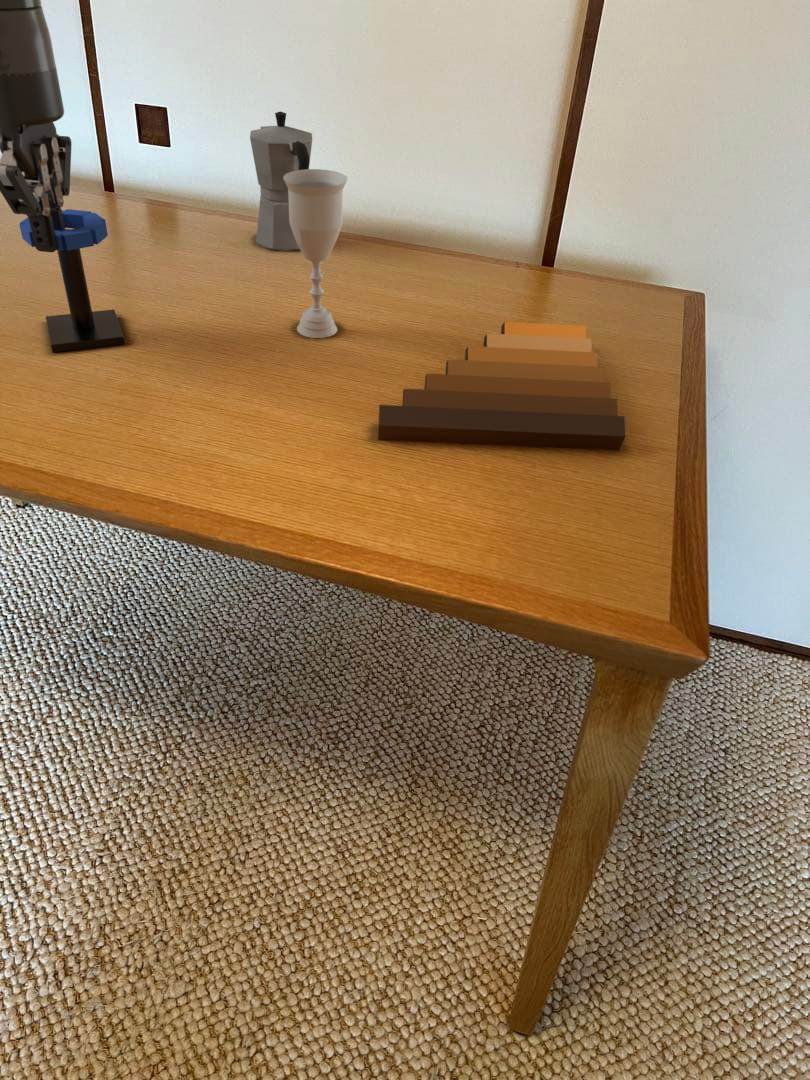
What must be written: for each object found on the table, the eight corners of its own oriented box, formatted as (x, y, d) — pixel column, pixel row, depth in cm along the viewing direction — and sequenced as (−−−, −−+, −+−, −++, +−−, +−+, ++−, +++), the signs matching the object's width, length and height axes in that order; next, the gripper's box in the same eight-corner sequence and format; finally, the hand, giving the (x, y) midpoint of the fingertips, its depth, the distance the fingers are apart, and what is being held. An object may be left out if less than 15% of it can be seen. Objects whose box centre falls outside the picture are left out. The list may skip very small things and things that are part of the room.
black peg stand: (52, 353, 93) (28, 248, 85) (47, 324, 99) (23, 223, 91) (125, 344, 96) (107, 242, 88) (115, 316, 101) (98, 218, 94)
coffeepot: (240, 230, 128) (232, 102, 116) (296, 223, 132) (293, 100, 120) (277, 264, 118) (272, 129, 106) (336, 256, 121) (337, 125, 110)
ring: (87, 253, 86) (84, 238, 85) (10, 246, 87) (7, 230, 86) (117, 227, 93) (115, 213, 92) (45, 220, 93) (42, 206, 92)
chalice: (325, 312, 106) (324, 166, 94) (356, 332, 102) (360, 181, 90) (277, 325, 102) (270, 174, 91) (308, 346, 98) (305, 191, 87)
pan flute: (378, 443, 82) (620, 453, 84) (379, 413, 80) (628, 425, 81) (380, 334, 102) (577, 344, 103) (381, 309, 100) (583, 319, 101)
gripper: (9, 47, 82) (46, 223, 93) (-67, 71, 71) (-15, 266, 82) (81, 53, 81) (110, 229, 92) (16, 78, 71) (58, 274, 82)
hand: (51, 246), depth 87 cm, fingers closed on ring, 1 cm apart
